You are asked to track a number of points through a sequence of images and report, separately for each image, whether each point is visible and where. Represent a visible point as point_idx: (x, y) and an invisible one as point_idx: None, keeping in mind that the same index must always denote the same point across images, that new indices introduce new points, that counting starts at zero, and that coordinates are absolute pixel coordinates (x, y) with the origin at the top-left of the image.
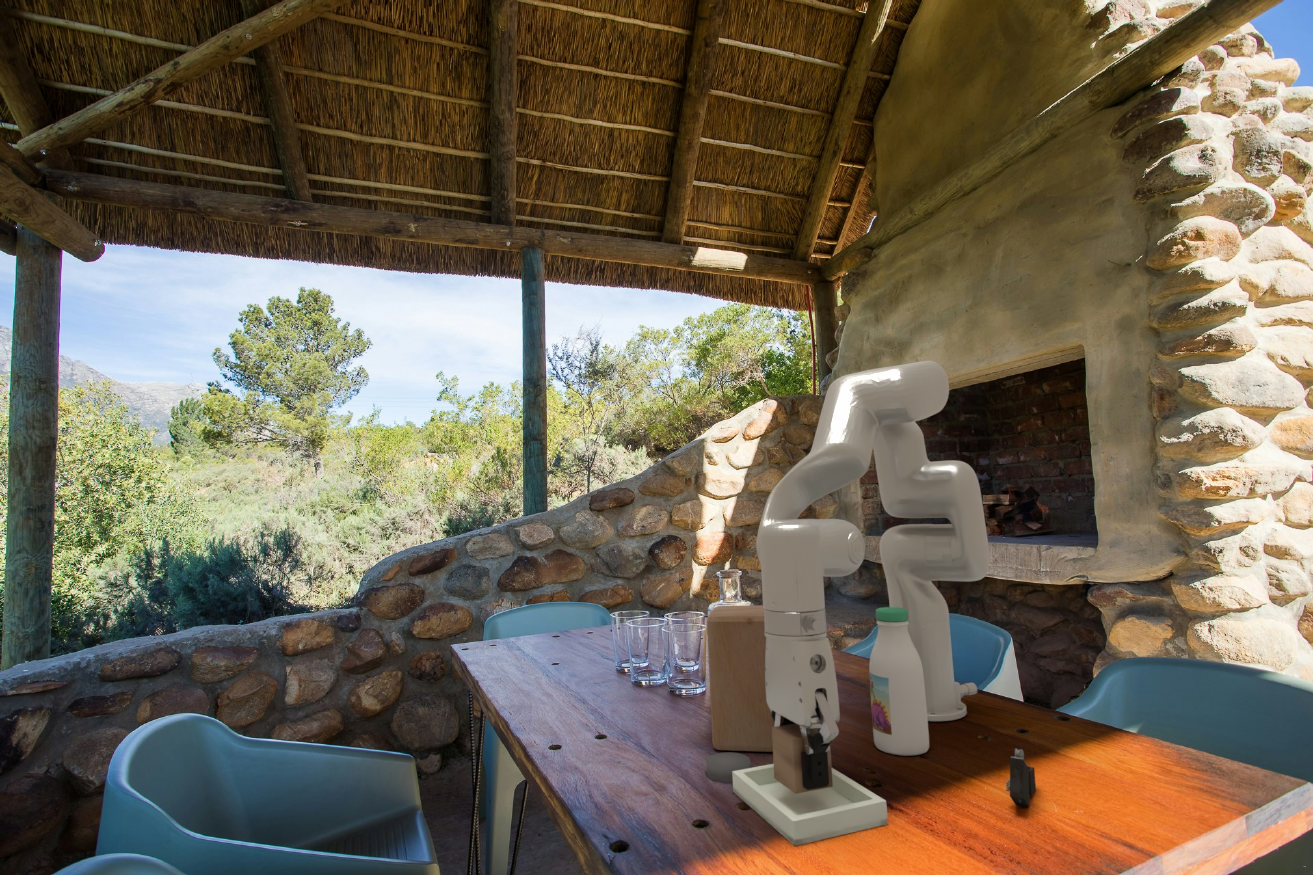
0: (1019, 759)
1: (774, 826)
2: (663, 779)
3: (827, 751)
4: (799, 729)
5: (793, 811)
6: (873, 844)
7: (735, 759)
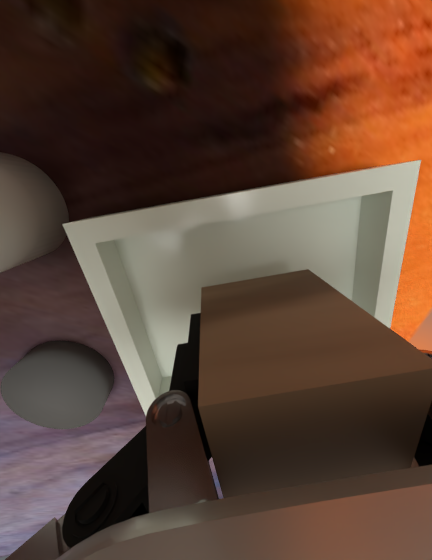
0: None
1: None
2: (90, 453)
3: (425, 354)
4: (303, 458)
5: None
6: (416, 236)
7: (48, 385)
